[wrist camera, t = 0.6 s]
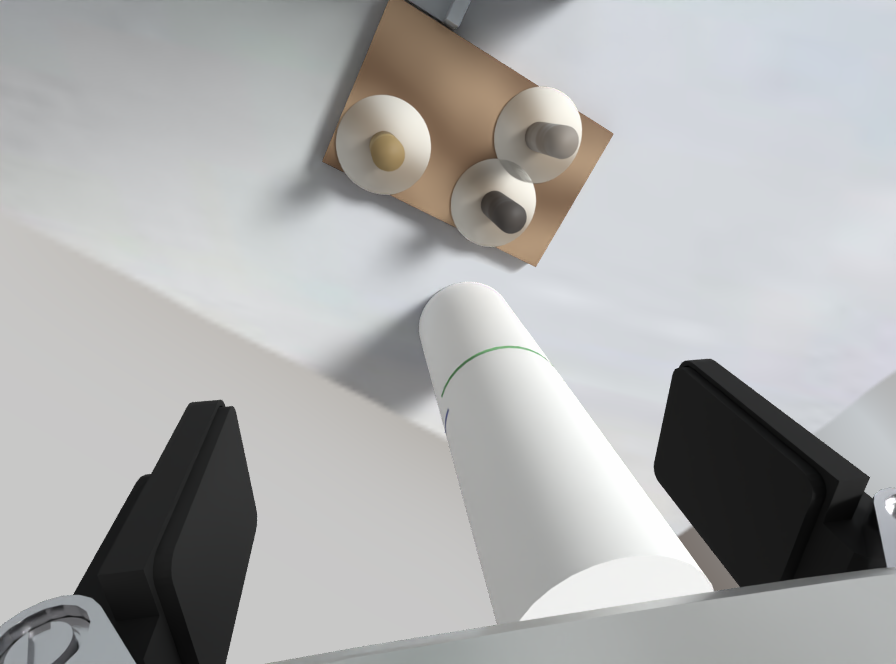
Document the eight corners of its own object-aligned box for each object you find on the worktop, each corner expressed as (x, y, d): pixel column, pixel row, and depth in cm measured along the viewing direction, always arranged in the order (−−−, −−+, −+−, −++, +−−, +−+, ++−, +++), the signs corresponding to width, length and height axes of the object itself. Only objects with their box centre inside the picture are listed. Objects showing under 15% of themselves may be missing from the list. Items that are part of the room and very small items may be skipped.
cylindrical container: (416, 368, 40) (496, 717, 18) (420, 281, 37) (521, 566, 15) (505, 366, 41) (685, 690, 19) (515, 281, 38) (742, 545, 16)
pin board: (393, -11, 30) (401, -33, 24) (608, 126, 35) (652, 132, 30) (320, 165, 33) (314, 178, 28) (527, 266, 38) (554, 293, 33)
